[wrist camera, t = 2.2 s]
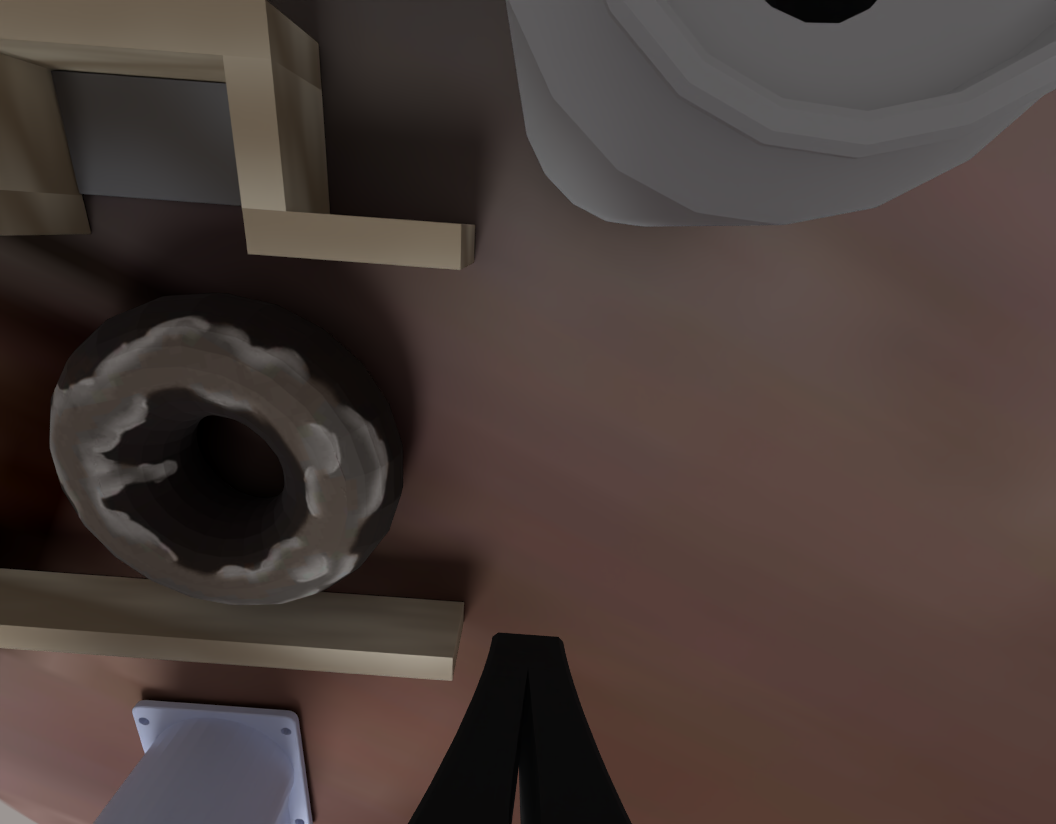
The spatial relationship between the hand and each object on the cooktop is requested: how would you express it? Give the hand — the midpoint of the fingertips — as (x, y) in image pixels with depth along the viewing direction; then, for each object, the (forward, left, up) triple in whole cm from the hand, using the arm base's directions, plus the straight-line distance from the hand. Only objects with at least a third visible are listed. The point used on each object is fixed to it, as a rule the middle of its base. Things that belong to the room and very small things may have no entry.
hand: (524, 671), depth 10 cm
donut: (0, +11, -10) cm, 15 cm away
